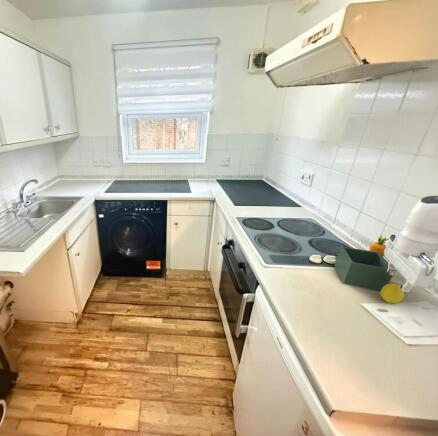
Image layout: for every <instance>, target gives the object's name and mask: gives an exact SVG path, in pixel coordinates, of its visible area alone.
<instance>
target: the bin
mask: <svg viewBox="0 0 438 436" xmlns="http://www.w3.org/2000/svg"><path fill="white" fill-rule="evenodd" d="M388 262H389V261H388V260H386V259H385V258H384V256H382V255H381V254H380V253H379V252H373V251H369V250H368V249H367V250H366V249H361V248H353V247H350V246H349V247H347V246H340V248H339V251H338V254H337V256H336V259H335V262H334V264H333V265H334V266H333V267H334V269H335V270H336V272H337V274H338V276H339V278H340V281H342V284H344V285H349V286H354V287H359V288H364V289H368V290H373V291H378V292H381V290H382V288H383V287H384V286H385V285H386V284H390V282H391V280H392V278H393V276H392V275H389V274H388V273H387V270H388Z"/></svg>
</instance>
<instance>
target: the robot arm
mask: <svg viewBox="0 0 438 436" xmlns="http://www.w3.org/2000/svg"><path fill="white" fill-rule="evenodd" d="M388 239H389V240H387V243H386V244H385V245H386V248H385V250H384V256H383V257H385V258H386V259H387V262H388V270H387V273H388V274H389V275H392V277H394V276H396V274H397V271H398V273H400V275H401V276H402V277H403V278H404V279H405V283H401V285H400V286H401V287H400V289H401V290H402V291H403V292H404V293H410V292H411V290H412V289H414V288H418V289H426V290H427V289H429V288H430V287H431V286H432V284H433V282H434V280H435V277H436V274H437V266H436V265H435V261H434V260H433V258H434V257H435V256H436V254H437V252H438V195H427V196H424V197H421V198H420V199H419V200H418V201H417V202H416V203H415V204H414V205H413V207H412V209H411V210H410V212H409V214H408V216H407V218H406V220H405V226H404V228H403V229H402V230H400V232H399V233H393V232H392V233H390V234H389V235H388Z"/></svg>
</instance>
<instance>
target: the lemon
mask: <svg viewBox="0 0 438 436" xmlns="http://www.w3.org/2000/svg"><path fill="white" fill-rule="evenodd" d="M400 287H401V285H399V284H398V283H393V282H391V283H390V282H389V284H386V285H385V286H384V287H383V288H382V290H381V291H380V296H381V298H382V300H384V301H385V302H386V303H387V304H398V303H400V302H402V301H403V300H404V298H405V292H403V291H402V290H401V289H400Z"/></svg>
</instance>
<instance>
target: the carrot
mask: <svg viewBox="0 0 438 436" xmlns="http://www.w3.org/2000/svg"><path fill="white" fill-rule="evenodd" d="M389 240H390V239H389V238H387V237H386V236H385V237H383V235H381V234H380V235H379V237H378V239H377V242H372V243H371V244H370V247H369V248H368V249H369V250H368V251H373V252H379V253H380V254H381V255H382V256H383V257H385V256H384V250H385V248H386V245H387V244H386V241H389Z"/></svg>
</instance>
